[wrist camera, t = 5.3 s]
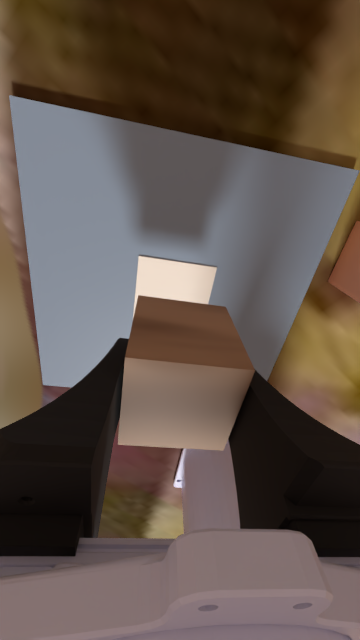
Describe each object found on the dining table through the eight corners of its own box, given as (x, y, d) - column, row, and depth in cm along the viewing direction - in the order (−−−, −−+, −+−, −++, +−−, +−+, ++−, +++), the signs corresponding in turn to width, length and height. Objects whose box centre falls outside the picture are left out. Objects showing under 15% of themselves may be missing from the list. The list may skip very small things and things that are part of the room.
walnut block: (206, 373, 16) (223, 450, 11) (131, 366, 15) (117, 444, 11) (225, 306, 13) (255, 370, 9) (138, 295, 13) (124, 357, 8)
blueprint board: (255, 398, 26) (257, 403, 25) (45, 380, 23) (42, 385, 23) (353, 170, 16) (360, 170, 16) (14, 98, 14) (8, 94, 13)
